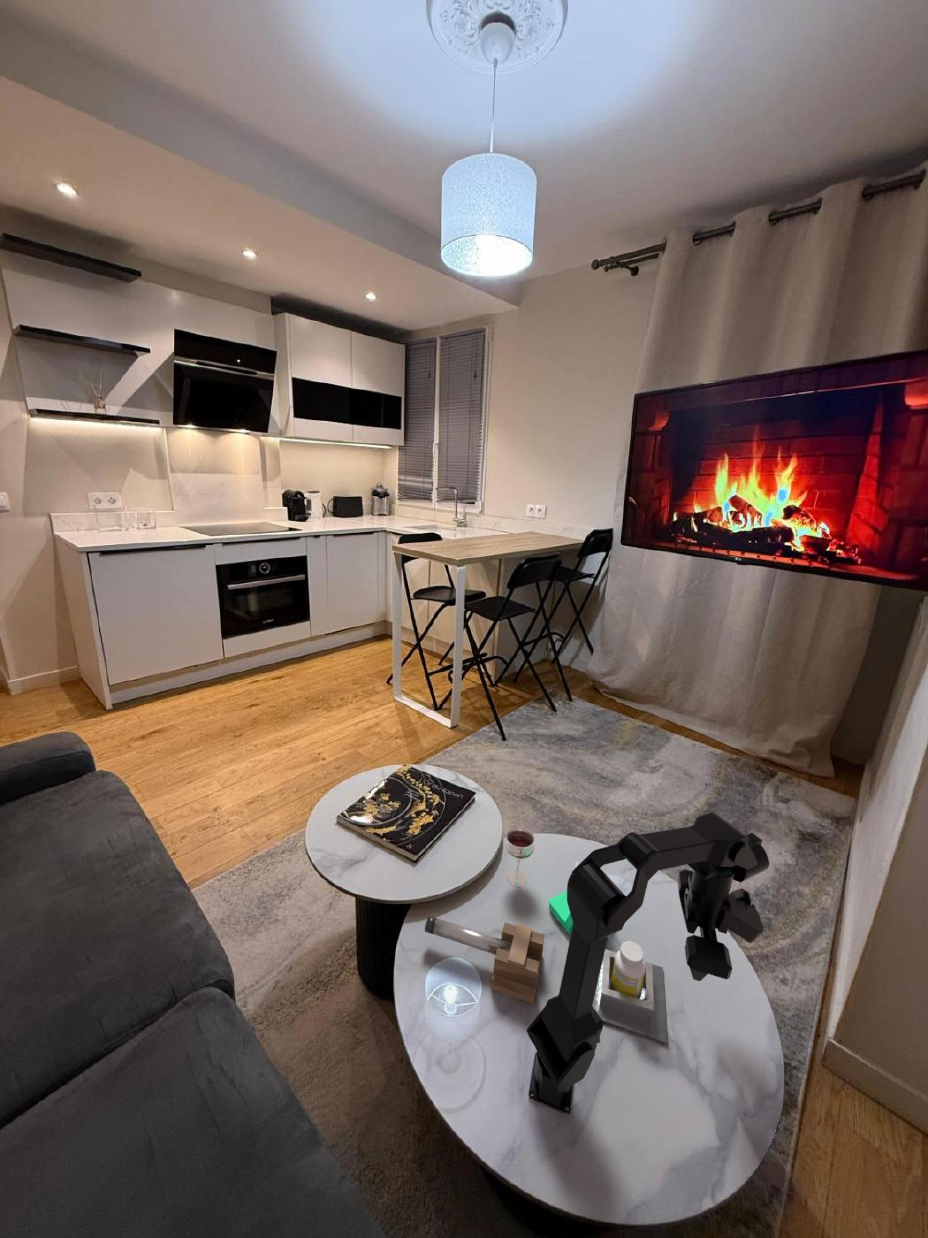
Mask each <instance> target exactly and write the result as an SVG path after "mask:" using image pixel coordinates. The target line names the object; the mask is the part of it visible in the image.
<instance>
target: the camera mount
mask: <svg viewBox="0 0 928 1238" xmlns="http://www.w3.org/2000/svg"><path fill="white" fill-rule="evenodd" d="M548 903H549V905H548V909H550V911H551V912H552V914H553V915H554V916H555V918H556V919H557V920H558V922H559V924H561V926H562V927H563V928H564V930H565V931H566V932H567V933H568V934H571V932H572V927H573V921H572V917H571V914H570V910H569V907H568V903H567V891H565V892H564V891H563V892H562V893H560V894H557V895H556V896H553V897H551V898H550V899H549V902H548Z"/></svg>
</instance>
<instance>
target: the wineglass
mask: <svg viewBox="0 0 928 1238" xmlns="http://www.w3.org/2000/svg"><path fill="white" fill-rule="evenodd" d="M505 838H506V839H505V840H504V841H505V842H504V845H505V846H504V847H505V849H506V851H507V854H508V855H509V856H511V857H512V858H513V859H515V860H516V869H513V870H510V871H508V873H507V874H506V876H505V877H506V881H507V882H508V884H509V885H510V886H512V887H515V888H517V887H518V888H519V887H523V886H525V885H526V884H527V883H528V877H527V875H526V873H525V872H523V871H522V870H519V869H520V863H521V862H520V861H522V860H526V859H528V858H530V857H531V856H532V854H533V853H534V850H535V839H536V838H535V836H534V833H532V832H531V830H529V829H528V828H525V827H522V826H521V827H520V826H518V827H516V826H515V827H513V828H510V829H508V830H507V832H506V833H505Z"/></svg>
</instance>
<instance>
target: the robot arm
mask: <svg viewBox="0 0 928 1238" xmlns="http://www.w3.org/2000/svg"><path fill="white" fill-rule="evenodd" d="M762 843H763V839H761V838H760V837H758V836H757V835H756V834H755V833H753V832H750V833H748V834H745V833H744V832H743V831H742V830H740V829H738V828H737V827H736V826H734V825H733V824H731V823H730V822H729V821H727V820H726V819H724V818H723V817H722V816H720V815H719V814H718V813H717V812H707V813H705V814H702V815H699V816H696V818H695V821H694V823H693V825H690V826H685V827H679V828H672V829H667V830H660V831H655V832H653V831H652V832H648V833H640V834H639V833H637V832H635V831H634V832H632V831H631V832H629V833H627V834H626V835H624V836H623V837H622V838H621V839H620V840H619V841H618V842H617V843H615V844H612V845H608V846H604V847H601V848H597V849H595V850H593V851H591V852H590V853H589V854H588V855H587V856H586V857H585V858H584V859H583V860H582V861H581V862H580V863H579V864H578V865H576V867H575V868H573V870H572V871H571V873H570V875H569V878H568V880H567V886H566V887H567V888H566V892H567V903H568V907H569V910H570V914H571V917H572V921H573V927H572V932H571V933H570V939H569V943H568V946H567V947H568V948H567V952H566V957H565V962H564V967H563V972H562V978H561V983H560V987H559V991H558V995H556V996H553V997H551V998H549V999H547V1001H546V1003H545V1005H544V1007H543V1008H542V1009H541V1011H540V1012H539V1013H538V1014H537V1016H536V1017H535V1018H534V1020H533V1021H532V1022H531V1024H529V1026H528V1027H527V1028H526V1031H525V1032H526V1033H527V1035H528V1038H529V1039H530V1041H531V1042H532V1045H533V1046H534V1048H535V1050H536V1052H535V1053H534V1058H533V1065H532V1069H531V1070H532V1071H531V1076H530V1082H529V1089H528V1098H529V1099H530V1100H532V1101H535V1102H538V1103H540V1104H543V1105H545V1106H547V1107H548V1108H552V1109H554V1110H557V1111H559V1112H561V1113H564V1114H566V1115H568V1114H569V1115H570V1113H571V1111H572V1110H571V1108H572V1099H573V1089H574V1085H575V1084H577V1083H579V1082H580V1081H582V1080H584V1079H585V1077H586V1075H587V1072H588V1071H589V1069H590V1066H591V1065H592V1062H593V1060H594V1058H595V1056H596V1049H597V1045H598V1044H600V1043H601V1034H602V1031H603V1028H604V1023H603V1021H602V1019H601V1018H600V1016H599V1015H598V1013H597V1012H596V1010H595V1009H594V1007H593V1006H592V1005H593V1000H594V996H595V992H596V987H597V983H598V979H599V974H600V970H601V966H602V961H603V957H604V953H605V949H606V947H607V944H608V943H607V942H608V939H609V937H610V936H612V935H615V934H616V933H618V932H621V931H622V930H623V929H624V925H625V924H626V922H628V920H630V919H631V918H632V917H633V915H635V913H636V912H637V911H638V910H640V909H641V908H642V906H643V905H644V900H645V897H646V892H647V889H648V888H647V887H648V884H649V881H650V880H651V879H652V878H653V877H654V876H655V875H656V874H657V872H658V871H662V870H666V869H673V868H677V867H680V866H685V865H687V866H688V867H690V869H692V870H688V869H683V870H681V871H679V872H678V876H677V887H678V888H677V889H678V897H679V898H678V899H679V901H680V905H681V909H682V914H683V919H684V922H685V923H684V924H685V928H686V931H687V933H688V934H692V935H689V936H686V940H685V945H684V951H685V952H684V953H685V960H686V965H687V966H688V968H689V970H690V974H691V977H692V979H693V981H694V980H695V981H697V982H701V981H702V980H703V979H705V977H707V976H708V975H710V976H714V977H717V978H721V979H723V980H728V979H730V978H731V974H732V972H733V965H732V960H731V955H730V949H729V947H727V946H726V945H725V944H724V942H720V941H718V937H717V932H719V933H722V934H725V935H727V933H728V931H730V932H732V933H734V934H735V935H736V936H739V937H741V938H742V939H744V941H745V942H747V943H749V944H752V943H753V942H754V941H755V940H756V939H757V938H759V936H760V935H761V934H763V932H764V926H763V922H762V920H761V916H760V912H759V911H758V910H757V909H756V905H755V904H753V903H752V898H751V894H750V892H749V891H748V890H746V889H744V888H742V887H741V888H739V889H736V890H733V891H731V888H732V884H733V881H735V882H737V883H743V882H744V881H747V880H749V879H751V878H752V877H753V878H754V877H755V876H756V875H760V874H761V873H763V872H765V871H767V869H768V868H769V867H770V861H769V856H768V854H767V851H766V850H765V848H764V846H763V845H762ZM624 860H626V861H627V862H628V863H630V865H631V866H632V867H633V868H634V869H635V870H636V872H635V874H634V878H633V884H632V887H631V891H630V892H629V893H628V894H627V895H626V894H625V893H624V892H623V891H622V890H621V889H620V888H619V887H618V885H616V883H615V882H613V880H612V879H611V878H610V877H609V876H608V874H606V873H605V872H604V871H603V869H601V868H602V867H603V866H605V865H609V864H614V863H617V862H620V861H621V862H622V861H624ZM730 891H731V892H730ZM698 928H699V932H700V935H696V934H695V933H696V931H697V929H698ZM531 1094H532V1095H531Z"/></svg>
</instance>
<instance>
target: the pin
mask: <svg viewBox="0 0 928 1238" xmlns="http://www.w3.org/2000/svg"><path fill="white" fill-rule="evenodd" d="M424 933H427V934H430V935H434V936H437V937H439V938H444V939H446V940H449V941H453V942H456V943H459V944H460V945H461V944H462V945H464V946H467V947H471V948H474V949H476V950H479V951H482V952H485V953H487V954H491V955H496V951H497V948H499V949H502V950H505V951H508V952H510V949H511V945H512V943H511V942H508V941H505V940H502V938H498V937H495V936H492V935H489V934H487V933H483V932H481V931H477V930H474V929H472V928H467V927H465V926H461V925H459V924H456V923H452V922H450V921H446V920H443V919H440V918H438V917H435V916H432V915H429V916H428V917H427V919H426V921H425V925H424Z"/></svg>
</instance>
